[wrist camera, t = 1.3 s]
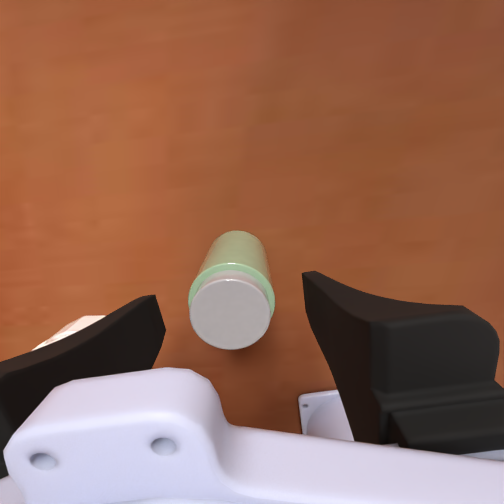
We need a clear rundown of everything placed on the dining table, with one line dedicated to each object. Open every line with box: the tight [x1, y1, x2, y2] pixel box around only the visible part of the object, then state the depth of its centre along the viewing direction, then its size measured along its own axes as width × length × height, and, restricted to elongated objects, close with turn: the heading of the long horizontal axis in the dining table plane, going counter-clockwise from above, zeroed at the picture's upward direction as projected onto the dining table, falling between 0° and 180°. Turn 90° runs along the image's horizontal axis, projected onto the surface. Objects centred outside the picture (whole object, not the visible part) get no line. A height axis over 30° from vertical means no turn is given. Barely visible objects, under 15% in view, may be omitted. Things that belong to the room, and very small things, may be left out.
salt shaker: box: [188, 231, 275, 350], centre depth 15 cm, size 4×4×8 cm
